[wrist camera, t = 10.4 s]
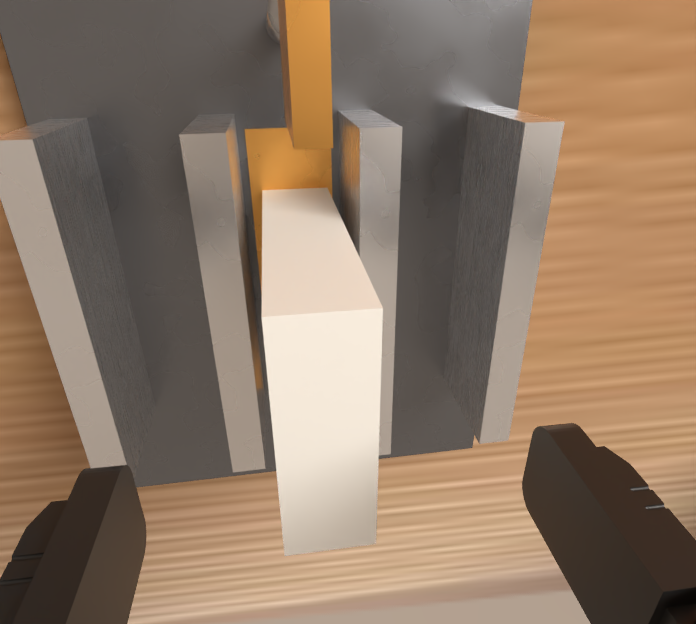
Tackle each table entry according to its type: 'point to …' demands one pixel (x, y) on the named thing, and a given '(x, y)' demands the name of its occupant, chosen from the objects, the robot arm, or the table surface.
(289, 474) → the block
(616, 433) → the table surface
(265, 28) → the rack
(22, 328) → the table surface
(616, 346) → the table surface
